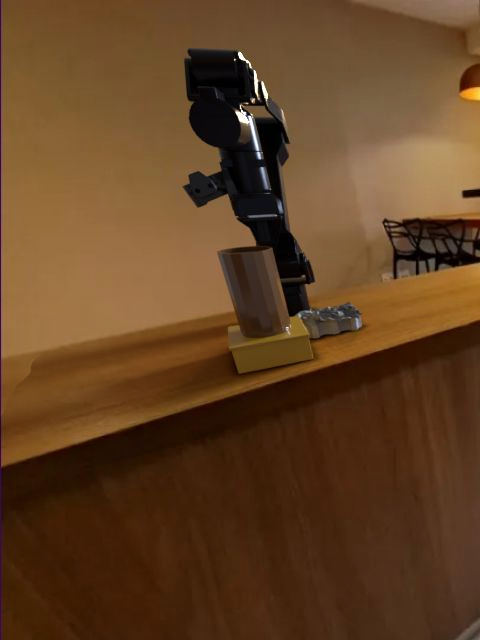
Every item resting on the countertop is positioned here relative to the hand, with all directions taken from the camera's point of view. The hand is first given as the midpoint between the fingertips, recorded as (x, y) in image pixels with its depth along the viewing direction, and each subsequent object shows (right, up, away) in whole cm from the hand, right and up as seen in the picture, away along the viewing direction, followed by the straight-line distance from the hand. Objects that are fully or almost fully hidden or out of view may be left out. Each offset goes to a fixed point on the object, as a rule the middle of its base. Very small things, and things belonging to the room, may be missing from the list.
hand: (268, 258), depth 72 cm
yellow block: (+3, -16, -3) cm, 17 cm away
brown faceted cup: (+3, -12, -5) cm, 14 cm away
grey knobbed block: (+7, -11, +7) cm, 15 cm away
